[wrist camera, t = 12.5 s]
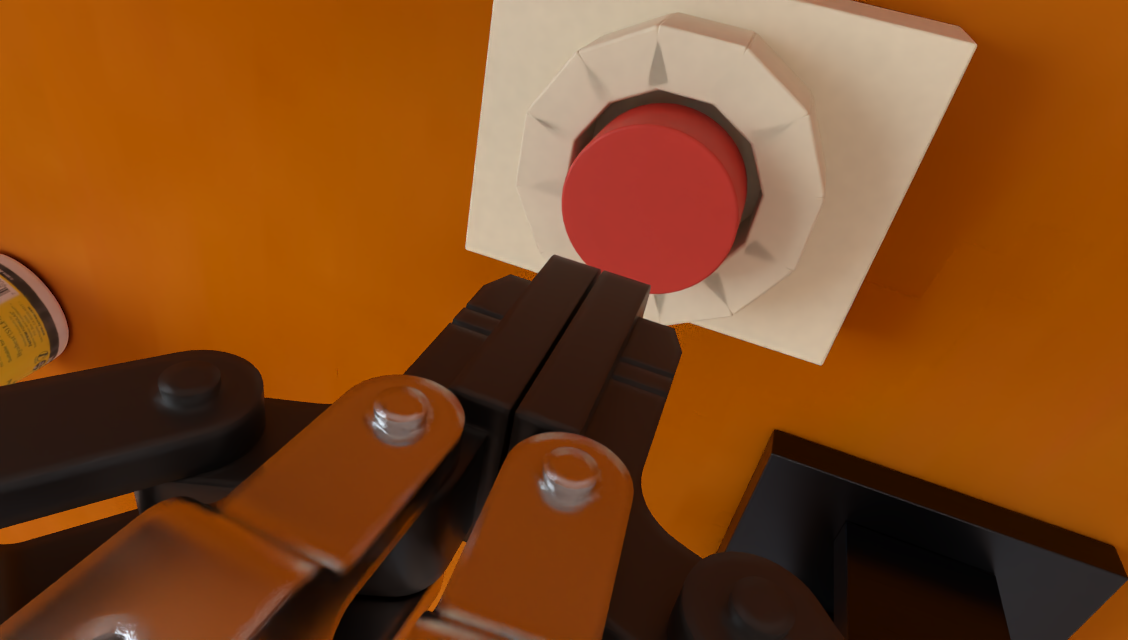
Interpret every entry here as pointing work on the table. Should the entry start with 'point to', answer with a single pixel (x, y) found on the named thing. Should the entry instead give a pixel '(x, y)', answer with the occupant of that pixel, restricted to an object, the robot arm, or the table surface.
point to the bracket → (915, 552)
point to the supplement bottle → (27, 323)
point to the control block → (748, 114)
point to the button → (656, 197)
